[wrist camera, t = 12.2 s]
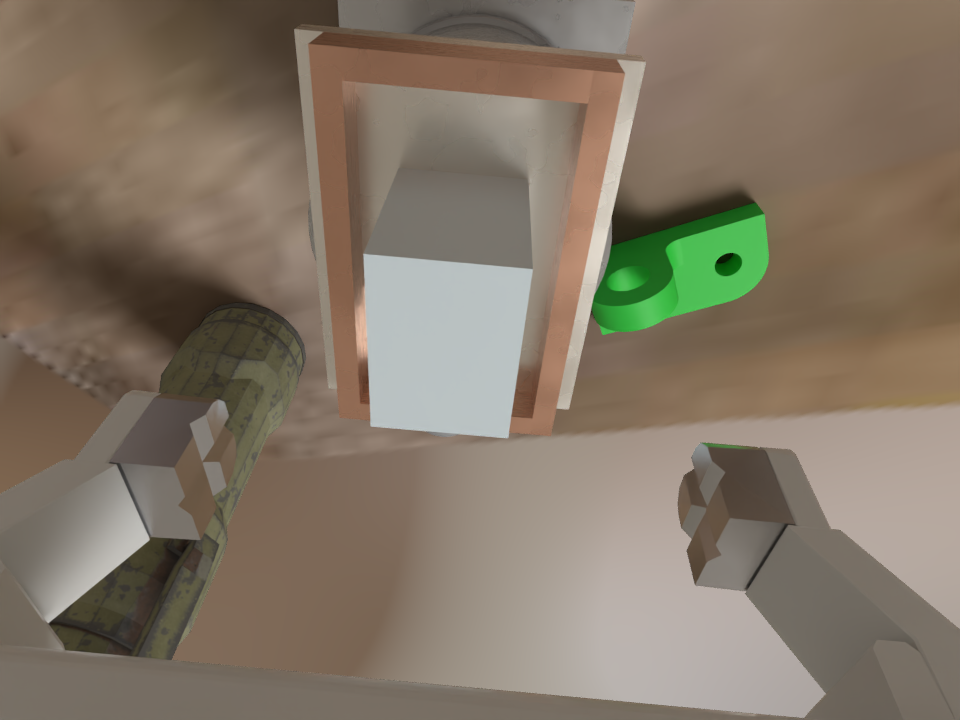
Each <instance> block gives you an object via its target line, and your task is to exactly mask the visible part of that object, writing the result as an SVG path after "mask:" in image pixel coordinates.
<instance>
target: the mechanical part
mask: <svg viewBox="0 0 960 720" xmlns="http://www.w3.org/2000/svg"><path fill="white" fill-rule="evenodd" d="M727 253H734V254H733V256H732V258H731V259H730V260H728V261H727V262H724V263H720V264H717V263H716V261H717V260H718V258H719V257H721V256H722V255H724V254H727ZM768 260H769V253H768V243H767V234H766V224H765V214H764V213H763V211H762V210H761V209H760V207H759V206H758V205H757V203H752V204H749V205H746V206H742V207H739V208H736V209H732V210H729V211H726V212H722V213H719V214H716V215H712V216H709V217H706V218H702V219H699V220H696V221H692V222H689V223H686V224H682V225H679V226H676V227H672V228H669V229H666V230H662V231H659V232H656V233H652V234H649V235H646V236H642V237H639V238H636V239H632V240H629V241H626V242H622V243H619V244H616V245H612V246H611V249H610V255H609V260H608V263H607V266H606V270H605V273H604V276H603V278H602V280H601V282H600V285H599V287H598V289H597V291H596V293H595V294H594V298H593V303H592V307H591V308H592V312H593V315H594V318H595V320H596V322H597V323H598V324H599V325H600V328H601V331H602V334H603V335H605V334H609V333H612V332H616V331H619V332H629V331H636V330H641V329H645V328H648V327H650V326H653V325H655V324H657V323H659V322H661V321H662V320H664V319H665V318H669V317H673V316H676V315H680V314H684V313H688V312H691V311H695V310H699V309H703V308H706V307H710V306H714V305H718V304H722V303H725V302H729V301H732V300H735V299H737V298H739V297H741V296H743V295H745V294H746V293H748V292H749V291H750V290H751V289H753V288H754V287H755V286H756V285H757V284H758V282H759V281H760V280H761V278H762V277H763V275H764V273H765V271H766V269H767V265H768Z"/></svg>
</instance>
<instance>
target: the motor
mask: <svg viewBox="0 0 960 720" xmlns="http://www.w3.org/2000/svg"><path fill="white" fill-rule="evenodd" d="M634 7H635V1H634V0H338V16H339V27H331V26H320V25H309V24H301V25H300V26H298V27H296V28H295V29H294V33H295V44H296V54H297V65H298V75H299V85H300V96H301V106H302V117H303V127H304V138H305V148H306V159H307V169H308V179H309V190H310V203H309V211H308V218H309V235H310V241H311V246H312V251H313V254H314V257H315V260H316V263H317V274H318V284H319V294H320V305H321V315H322V326H323V336H324V347H325V357H326V368H327V378H328V388H329V389H337V393H338V405H339V416H340V418H349V419H360V420H371V419H370V396H369V372H368V349H367V325H366V302H365V278H364V255H363V254H364V251H365V249H366V247H367V244H368V242H369V239H370V237H371V234H372V232H373V229H374V227H375V224H376V222H377V220H378V217H379V215H380V212H381V210H382V207H383V205H384V202H385V200H386V198H387V195H388V193H389V190H390V188H391V185H392V183H393V180H394V178H395V176H396V173H397V171H398V168H408V169H419V170H430V171H440V172H451V173H462V174H473V175H484V176H495V177H506V178H517V179H528V180H529V200H530V220H531V240H532V260H533V272H532V279H531V286H530V293H529V299H528V306H527V313H526V320H525V326H524V333H523V340H522V347H521V354H520V360H519V367H518V374H517V381H516V388H515V394H514V401H513V408H512V415H511V422H510V428H509V432H511V433H522V434H534V435H545V436H551V432H552V427H553V422H554V418H555V413H556V408H559V409H569V406H570V402H571V397H572V393H573V388H574V384H575V379H576V375H577V370H578V366H579V361H580V357H581V352H582V348H583V343H584V339H585V334H586V330H587V325H588V321H589V316H590V312H591V307H592V303H593V298H594V294H595V293H596V291H597V289H598V287H599V285H600V282H601V280H602V278H603V276H604V273H605V270H606V266H607V263H608V260H609V255H610V249H611V242H612V218H611V217H612V213H613V208H614V204H615V199H616V195H617V190H618V186H619V181H620V177H621V172H622V168H623V163H624V159H625V154H626V150H627V145H628V141H629V136H630V132H631V127H632V123H633V118H634V114H635V109H636V105H637V100H638V96H639V91H640V87H641V82H642V78H643V73H644V69H645V64H646V62H645V60H644V59H643V58H642V56H638V55H628V54H625V52H626V47H627V42H628V37H629V32H630V27H631V22H632V17H633V12H634Z"/></svg>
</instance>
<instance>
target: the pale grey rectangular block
mask: <svg viewBox="0 0 960 720" xmlns="http://www.w3.org/2000/svg"><path fill="white" fill-rule="evenodd" d="M363 255H364V278H365V302H366V325H367V349H368V372H369V396H370V419H371V426H372V427H384V428H395V429H407V430H419V431H426V432H428V433H430V434H432V435H436V436H442V437H449V436H455V435H458V434H465V435H476V436H488V437H500V438H508V435H509V428H510V422H511V415H512V408H513V401H514V394H515V388H516V381H517V374H518V367H519V360H520V354H521V347H522V340H523V333H524V326H525V320H526V313H527V306H528V299H529V293H530V286H531V279H532V272H533V260H532V240H531V220H530V200H529V180H528V179H517V178H506V177H495V176H484V175H473V174H462V173H451V172H440V171H430V170H419V169H408V168H398V171H397V173H396V176H395V178H394V180H393V183H392V185H391V188H390V190H389V193H388V195H387V198H386V200H385V202H384V205H383V207H382V210H381V212H380V215H379V217H378V220H377V222H376V224H375V227H374V229H373V232H372V234H371V237H370V239H369V242H368V244H367V247H366V249H365V251H364V254H363Z"/></svg>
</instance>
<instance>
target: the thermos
mask: <svg viewBox="0 0 960 720" xmlns="http://www.w3.org/2000/svg"><path fill="white" fill-rule="evenodd" d="M305 360H306V355H305V348H304V344H303V342H302V340H301V338H300V336H299V334H298V332H297V331H296V330H295V329H294V328H293V327H292V326H291V325H290V324H289V323H288V322H287V321H286V320H285V319H284V318H282V317H281V316H279V315H278V314H276V313H274V312H273V311H271V310H269V309H266V308H263V307H260V306H257V305H254V304H247V303H231V304H226V305H221V306H219V307H217V308H215V309H214V310H212V311H211V312H209V313H207V315H206V316H205V318H204V319H203V321H202V322H201V324H200V325H199V327H198V328H196V329H195V330H193V331H192V332H191V333H190V335H189V336H188V337H187V339H186V340H185V342H184V343H183V344H182V346H181V347H180V349H179V350H178V351H177V353H176V354H175V356H174V357H173V358H172V360H171V361H170V363H169V364H168V366H167V367H166V369H165V370H164V372H163V373H162V375H161V381H160V389H159V393H168V394H176V395H185V396H194V397H203V398H211V399H219V400H221V401H224V402H225V405H226V408H227V411H228V415H229V417H228V419H227V420H226V422H225V424H224V426H225V427H226V428H227V429H228V430H229V431H230V432H232V433H233V434H234V438H235V442H236V461H235V466H234V471H233V474H232V476H231V479H230V481H229V483H228V485H227V487H226V488H224V489H223V490H221V491H220V492H218V493H217V494H215V495H214V496H213V498H214V501H215V504H216V510H215V512H214V514H213V516H212V518H211V520H210V522H209V524H208V526H207V528H206V530H205V532H204V534H203V536H202V538H201V540H190V539H174V538H159V537H149V538H150V540H149V541H148V542H147V543H145V544H144V545H143V546H142V547H141V548H139V549H138V550H137V551H136V552H134V553H133V554H132V555H131V556H130V557H128V558H127V559H126V560H125V561H124V562H122V563H121V564H120V565H119V566H117V567H116V568H115V569H114V570H113V571H111V572H110V573H109V574H108V575H106V576H105V577H104V578H103V579H102V580H100V581H99V582H98V583H97V584H95V585H94V586H93V587H92V588H91V589H89V590H88V591H87V592H86V593H85V594H83V595H82V596H81V597H80V598H78V599H77V600H76V601H75V602H74V603H72V604H71V605H70V606H69V607H67V608H66V609H65V610H64V611H63V612H61V613H60V614H59V615H58V616H57V617H55V618H54V619H53V620H52V621H50V622H49V623H48V624H49V625H50V627H51V628H52V629H53V631H54V632H55V634H56V635H57V636H58V638H59V639H60V640H61V642H62V643H63V645H64V648H65V650H68V651H79V652H90V653H101V654H112V655H123V656H133V657H144V658H155V659H166V660H172V658H173V655H174V653H175V651H176V648H177V647H178V645H179V644H180V643H181V642H182V641H183V640H184V638H185V637H186V636H187V635H188V634H189V633H190V631H191V629H192V626H193V624H194V622H195V620H196V617H197V615H198V613H199V611H200V608H201V606H202V604H203V601H204V599H205V597H206V594H207V592H208V590H209V587H210V585H211V582H212V581H213V578H214V576H215V574H216V571H217V569H218V567H219V564H220V562H221V560H222V557H223V555H224V553H225V549H226V545H227V540H228V538H227V526H228V524H229V522H230V520H231V517H232V515H233V513H234V511H235V508H236V506H237V504H238V502H239V499H240V497H241V495H242V492H243V490H244V488H245V486H246V484H247V481H248V479H249V477H250V475H251V472H252V470H253V468H254V466H255V464H256V461H257V459H258V457H259V455H260V452H261V450H262V448H263V446H264V443H265V441H266V439H267V437H268V436H269V435H270V434H271V433H272V432H273V431H275V430H276V429H277V428H278V427H279V426H280V425H281V424H282V421H283V419H284V417H285V415H286V412H287V410H288V408H289V405H290V403H291V401H292V398H293V396H294V394H295V391H296V388H297V384H298V381H299V376H300V375H301V372H302V370H303V367H304V363H305Z"/></svg>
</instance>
